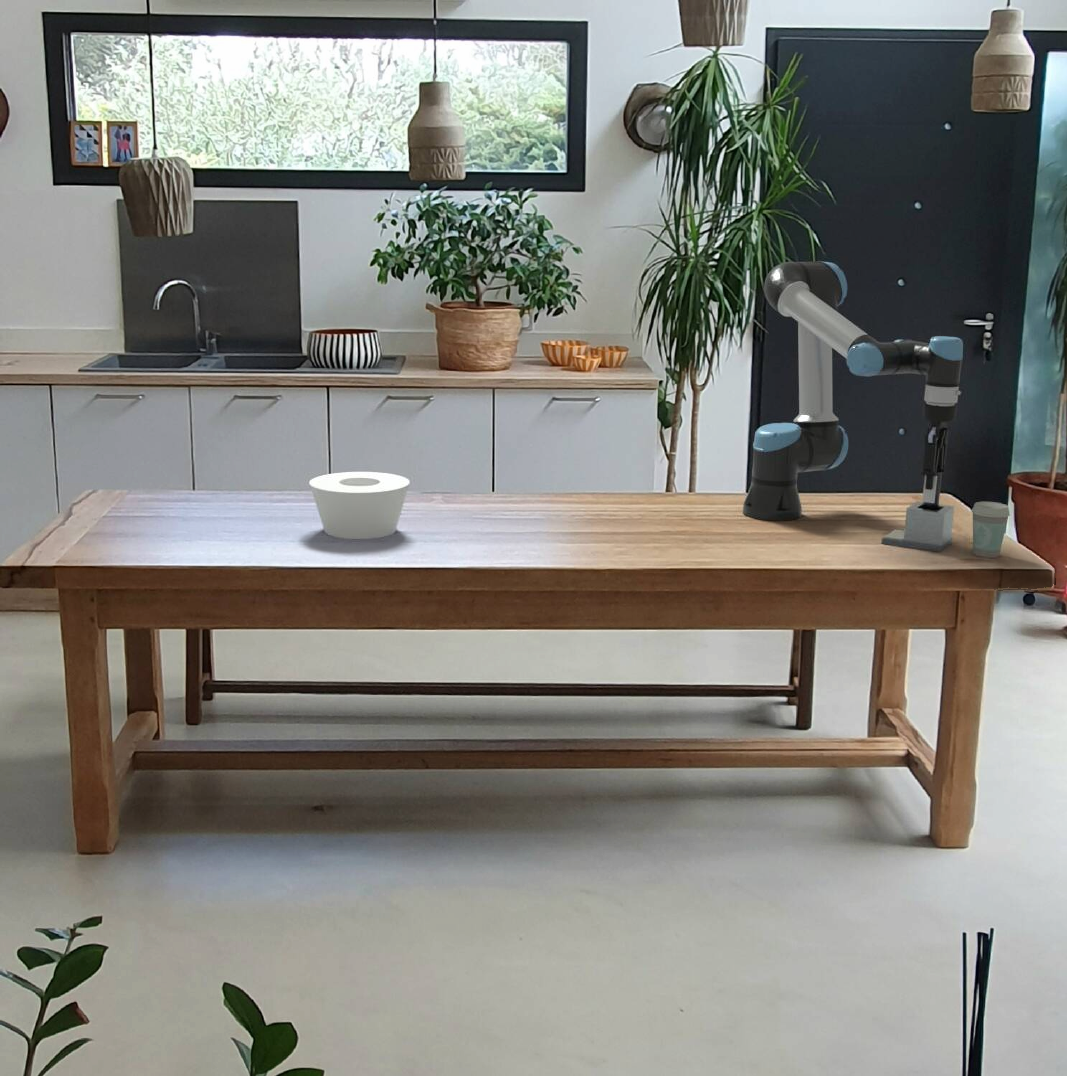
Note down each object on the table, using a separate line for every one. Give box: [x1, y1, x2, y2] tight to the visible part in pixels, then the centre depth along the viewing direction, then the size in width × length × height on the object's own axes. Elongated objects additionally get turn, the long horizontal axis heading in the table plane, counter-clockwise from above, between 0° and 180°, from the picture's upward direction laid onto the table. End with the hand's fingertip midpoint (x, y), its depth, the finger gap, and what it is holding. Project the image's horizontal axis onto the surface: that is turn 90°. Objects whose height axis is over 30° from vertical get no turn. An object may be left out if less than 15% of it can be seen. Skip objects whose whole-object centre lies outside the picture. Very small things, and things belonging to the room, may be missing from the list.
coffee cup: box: [970, 501, 1011, 559], centre depth 315 cm, size 8×9×12 cm
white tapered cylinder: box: [308, 471, 411, 540], centre depth 325 cm, size 24×24×12 cm
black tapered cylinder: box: [923, 471, 943, 511], centre depth 322 cm, size 4×4×12 cm
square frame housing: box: [881, 501, 955, 553], centre depth 325 cm, size 14×11×9 cm
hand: (930, 500), depth 322 cm, fingers closed on black tapered cylinder, 3 cm apart
